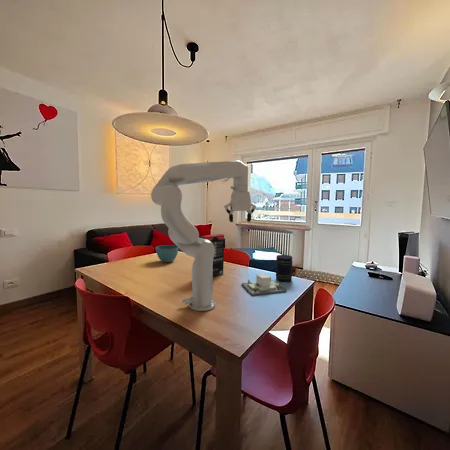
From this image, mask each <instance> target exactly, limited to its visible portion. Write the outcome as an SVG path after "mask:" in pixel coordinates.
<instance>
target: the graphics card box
mask: <svg viewBox="0 0 450 450" xmlns="http://www.w3.org/2000/svg"><path fill="white" fill-rule="evenodd" d="M199 238H203V239H207V240H209V241H211V242H212V243H213V245H214V248H215V253H214V258H213V277H217V276H220V275H221V276H222V275H223V274H224V261H225V259H224V258H225V257H224V255H225V234H223V233H221V234H219V233H218V234H209V235H207V234H206V235H201V236H200V235H199Z"/></svg>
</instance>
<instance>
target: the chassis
mask: <svg viewBox="0 0 450 450" xmlns="http://www.w3.org/2000/svg"><path fill="white" fill-rule="evenodd" d="M269 277H270V281H273V282H275V283H276V284H277V287H276V289H274V290H267V291H259V290H258V289H257V290H256V288H257V285H255V290H252V289H251V288H249V287H248V284H250V282H251V281H250V280H251V279H249V278H248V279H247V282H242V283H241V286H242V287H243V288H244V289H245V290H246V291H247V292H248V293H249V294H250V295H251V296H252V297H253V296H254V297H255V296H262V295H264V296H265V295H271V294H279V293H280V294H281V293H287V289H286V288H285V287H283V286H281V285H280V283H279V282H277V281H274V280H272V277H271V276H269Z"/></svg>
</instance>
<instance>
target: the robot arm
mask: <svg viewBox="0 0 450 450" xmlns="http://www.w3.org/2000/svg"><path fill="white" fill-rule="evenodd" d="M223 179H224V180H225V179H233V181H232V186H230V189H231V190H232V192H231V195H230V202H229V203H226V204H225V205H224V206H223V208H224V210H225V212H226V213H228V221H229V222H230V223H233V222H234V214H233V213H234V212H238V211H241V212H243V211H244V212H246V213H247V214H246V222H249V223H251V221H252V214H253V213H254V212H255V210H256V208H257V206H256V205H255V204H254V203H252V200H251V194H250V193H251V191H248V190H249V166H248V165H247V164H245V163H243V162H242V161H241V160H227V161H226V160H225V161H209V162H208V161H207V162H193V163H191V162H190V163H181V164H175V165H173V166H170V167H169V168H168V169H167V170H166V171H165V173H164V174H163V175H162V176H161V178H160V179H159V180H158V181H157V183H156V184H155V185H154V187H153V189H152V190H151V194H150V199H151V200H152V202H153V203H154V204H156V205H157V206H159V207H160V216H161V219H162V221H163V223H164V224H165V226H166V227H167V228H168V230H167V234H168V237H169V239H170V240H171V241H172V242H173V244H174V245H176V246H178V247H179V250H181V252H183V253H184V254H185V255H187V256H189V257H192V258H194V260H193V262H192V266H191V285H192V286H191V288H192V289H191V290H192V291H191V292H192V293H191V294H190V296H189V297H182V298H181V302H182V303H185V305H188V308H189V309H191V310H193V311H196V312H207V311H211V310H212V309H214V308H215V307H216V305H217V302H216V300H215V299H214V298H213V293H214V291H213V289H214V287H213V286H214V285H213V284H214V283H213V277H214V276H213V258H214V253H215V248H214V245H213V243H212V242H211V241H209V240H207V239H203V238H199V236H200V233H199V231H198V229H197V227H196V226H195V224H193V223H192V222H191V220H189V219H188V217H187V216H186V215H185V214H184V212H183V210H182V199H183V194H182V191H181V188H180V187H179V186H181V185H191V184H192V185H193V184H199V183H205V182H206V183H208V182H214V181H218V180H219V181H220V180H223ZM229 208H230V209H229Z"/></svg>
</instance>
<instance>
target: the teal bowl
mask: <svg viewBox="0 0 450 450" xmlns="http://www.w3.org/2000/svg"><path fill="white" fill-rule="evenodd" d="M179 250H180V248H179V247H178V246H177V245H176V244H165V245H164V244H162V245H158V246H156V247H155V252H156V255H157V257H158V259H159V260H160V261H161V262H162V263H163V262H170V263H172V261H173V262H174V261H175V260H176V258H177V257H178V256H177V255H178V253H179Z"/></svg>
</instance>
